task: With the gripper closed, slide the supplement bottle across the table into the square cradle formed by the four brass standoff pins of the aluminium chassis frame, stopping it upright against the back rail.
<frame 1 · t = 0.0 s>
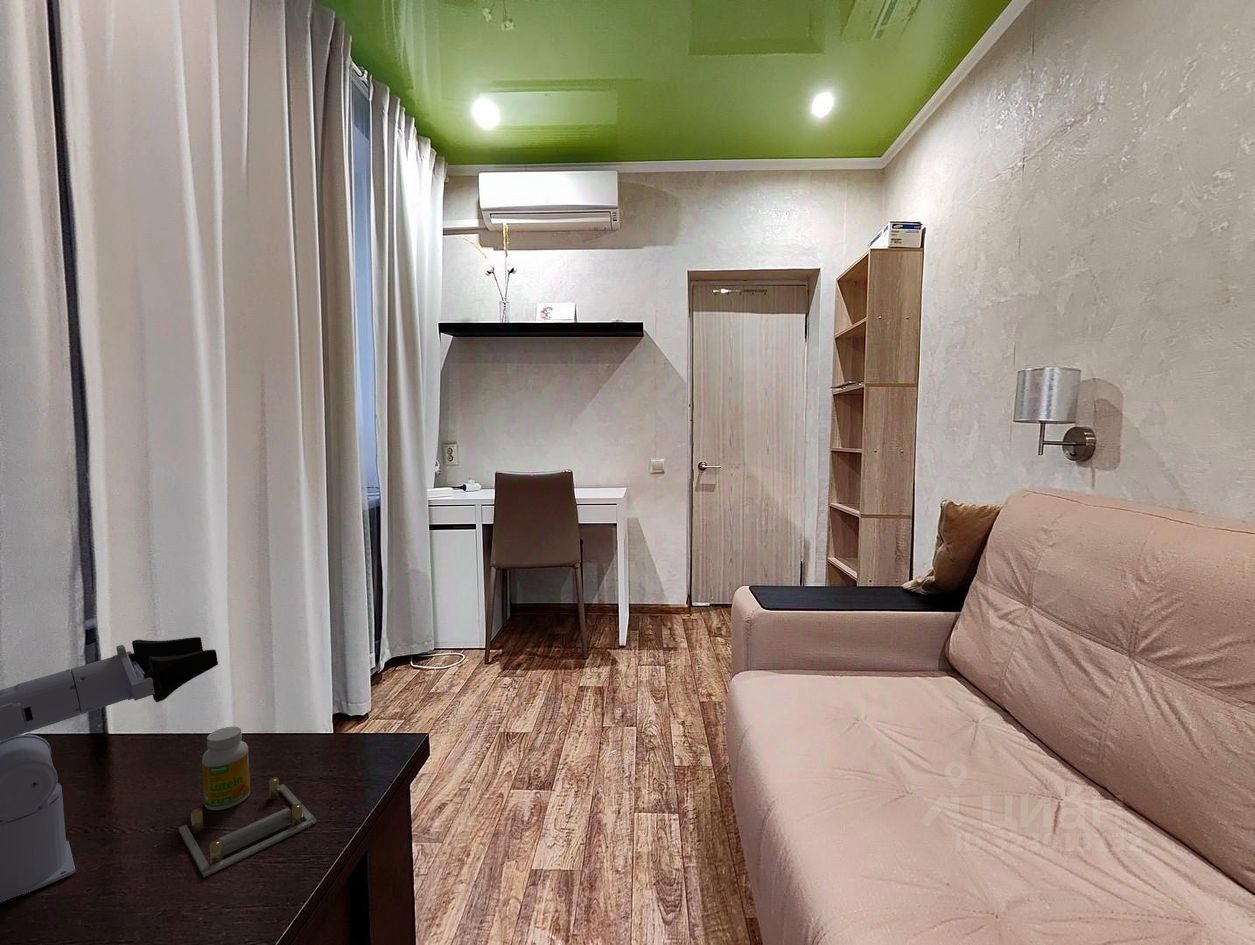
hand: (208, 650, 81), 22 cm above the table, tool horizontal, fingers open, 7 cm apart
supplement bottle: (228, 800, 82), on the table
chassis: (248, 826, 76), on the table
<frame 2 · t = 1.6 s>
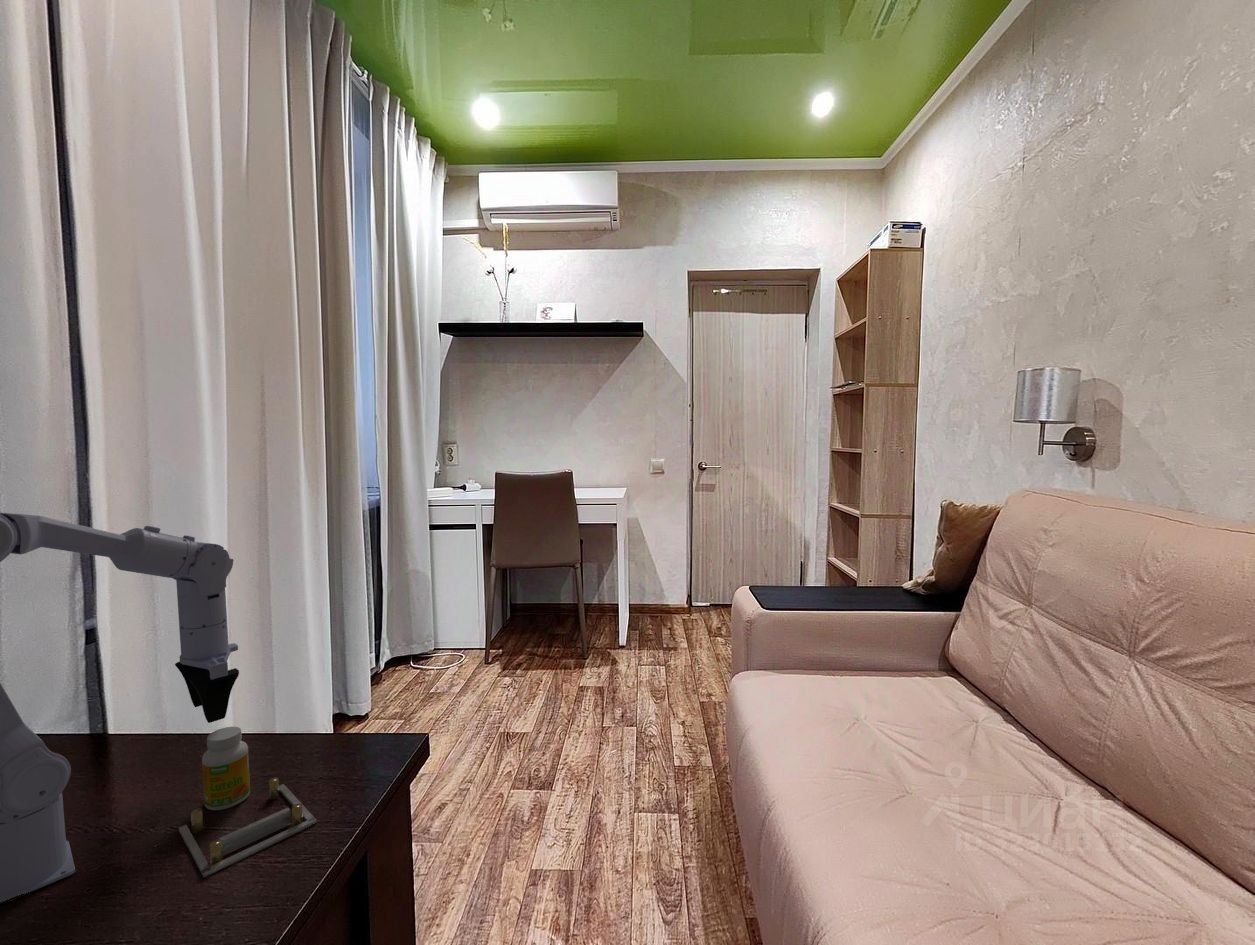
hand: (209, 711, 86), 10 cm above the table, tool pointing down, fingers open, 7 cm apart
nothing on the table moved.
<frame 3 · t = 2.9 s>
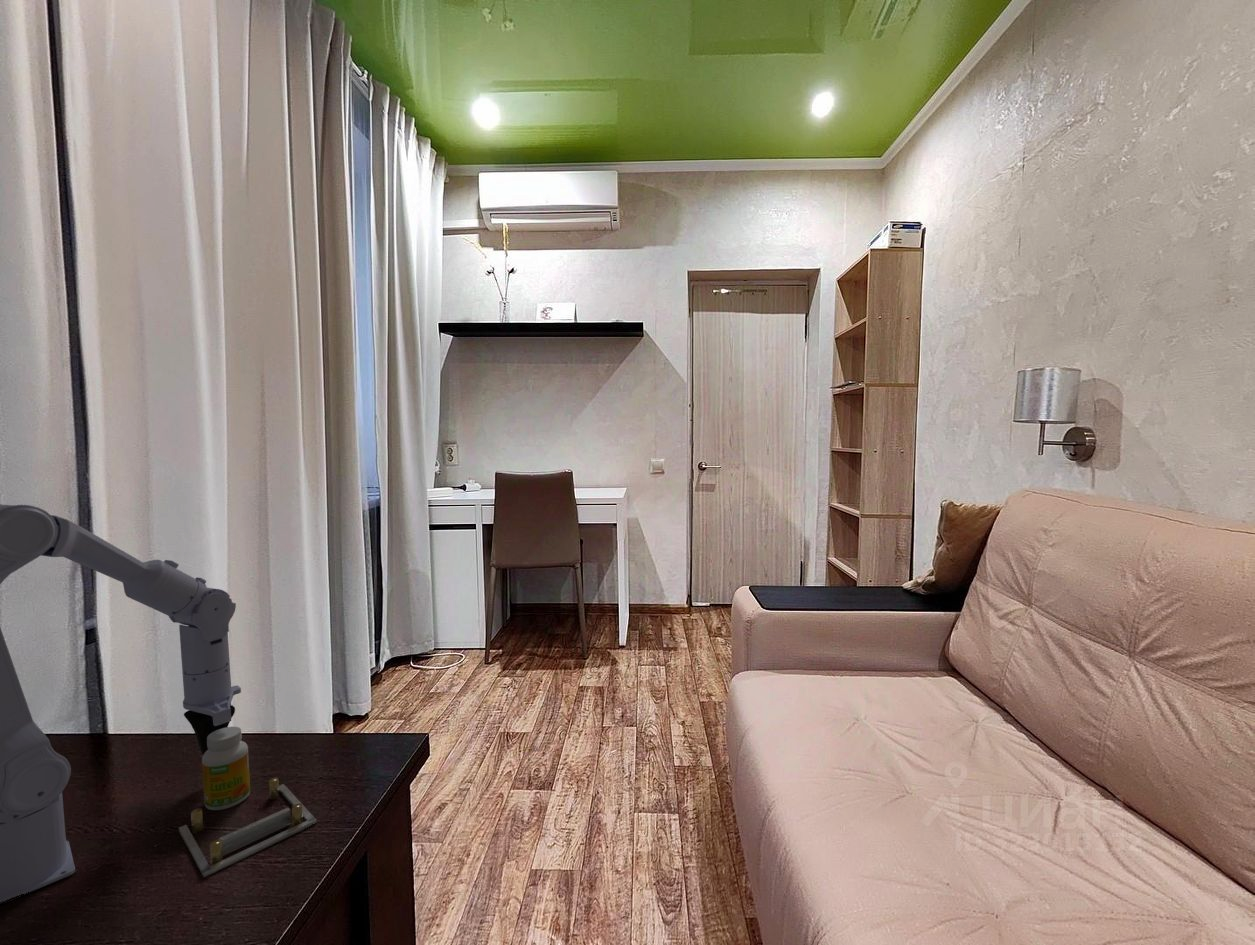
hand: (212, 755, 87), 4 cm above the table, tool pointing down, fingers closed
nothing on the table moved.
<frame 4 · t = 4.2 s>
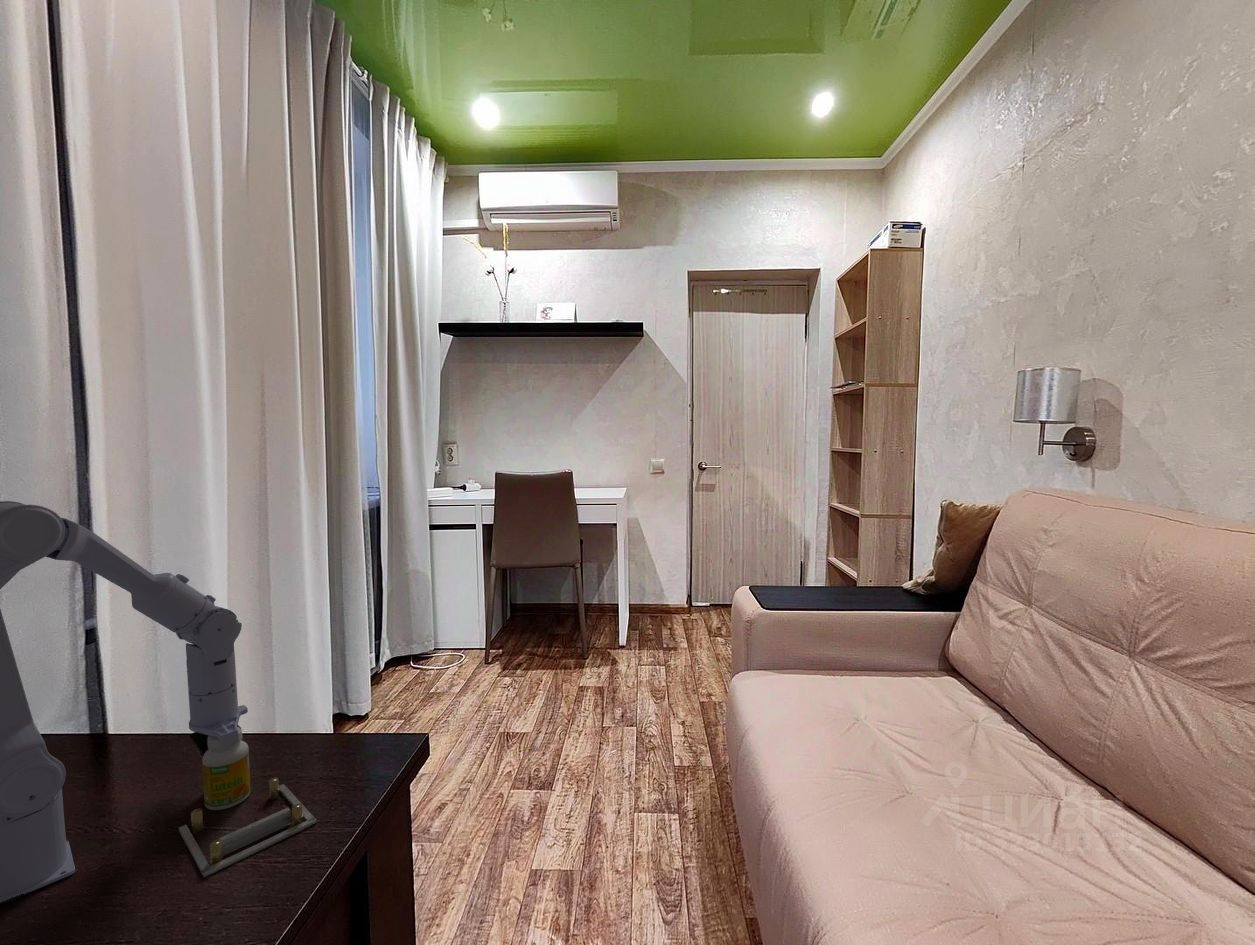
hand: (218, 776, 85), 1 cm above the table, tool pointing down, fingers closed
supplement bottle: (228, 800, 82), on the table, touching gripper
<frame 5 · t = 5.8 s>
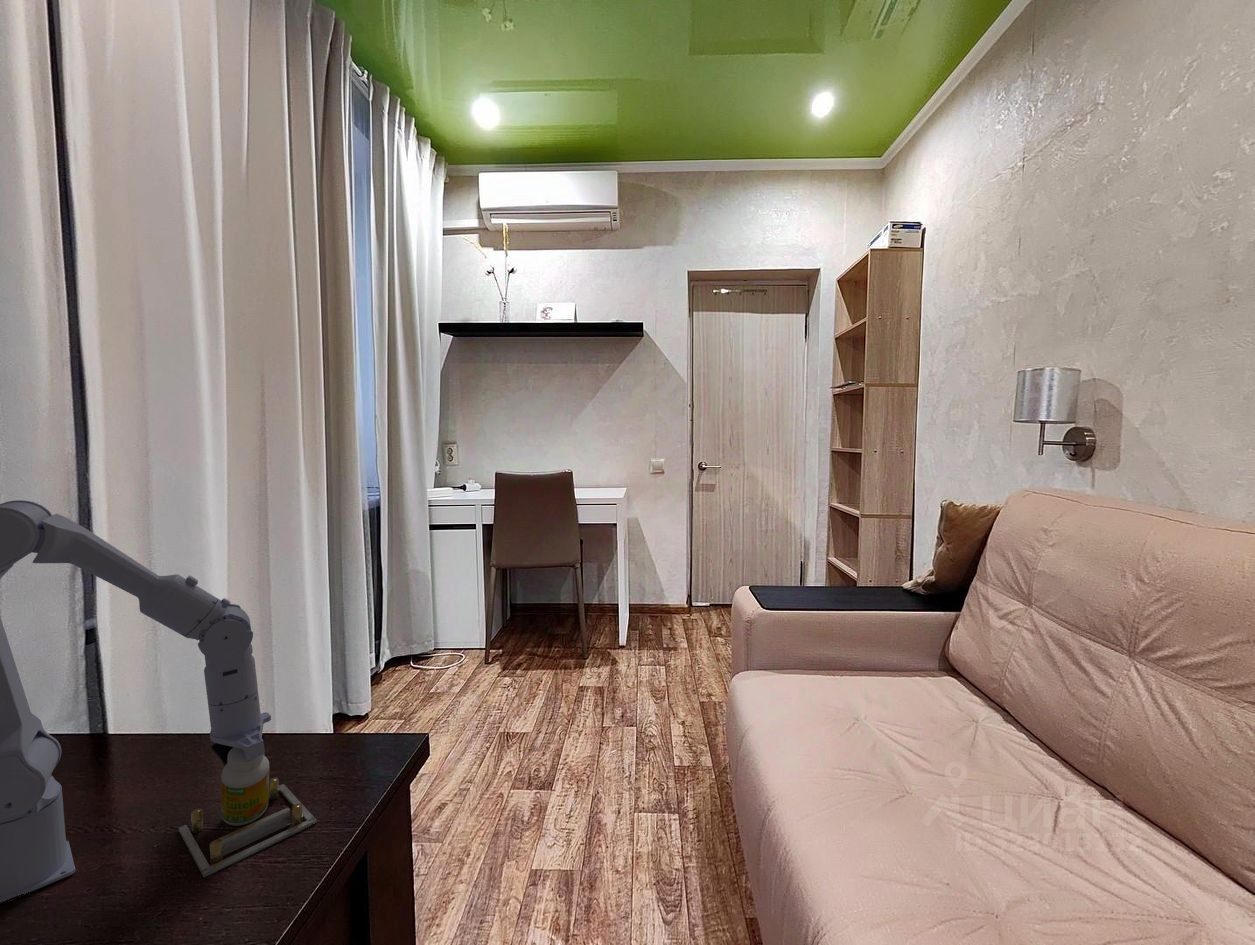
hand: (244, 788, 81), 2 cm above the table, tool pointing down, fingers closed, pressing on supplement bottle
supplement bottle: (245, 811, 79), on the table, touching gripper
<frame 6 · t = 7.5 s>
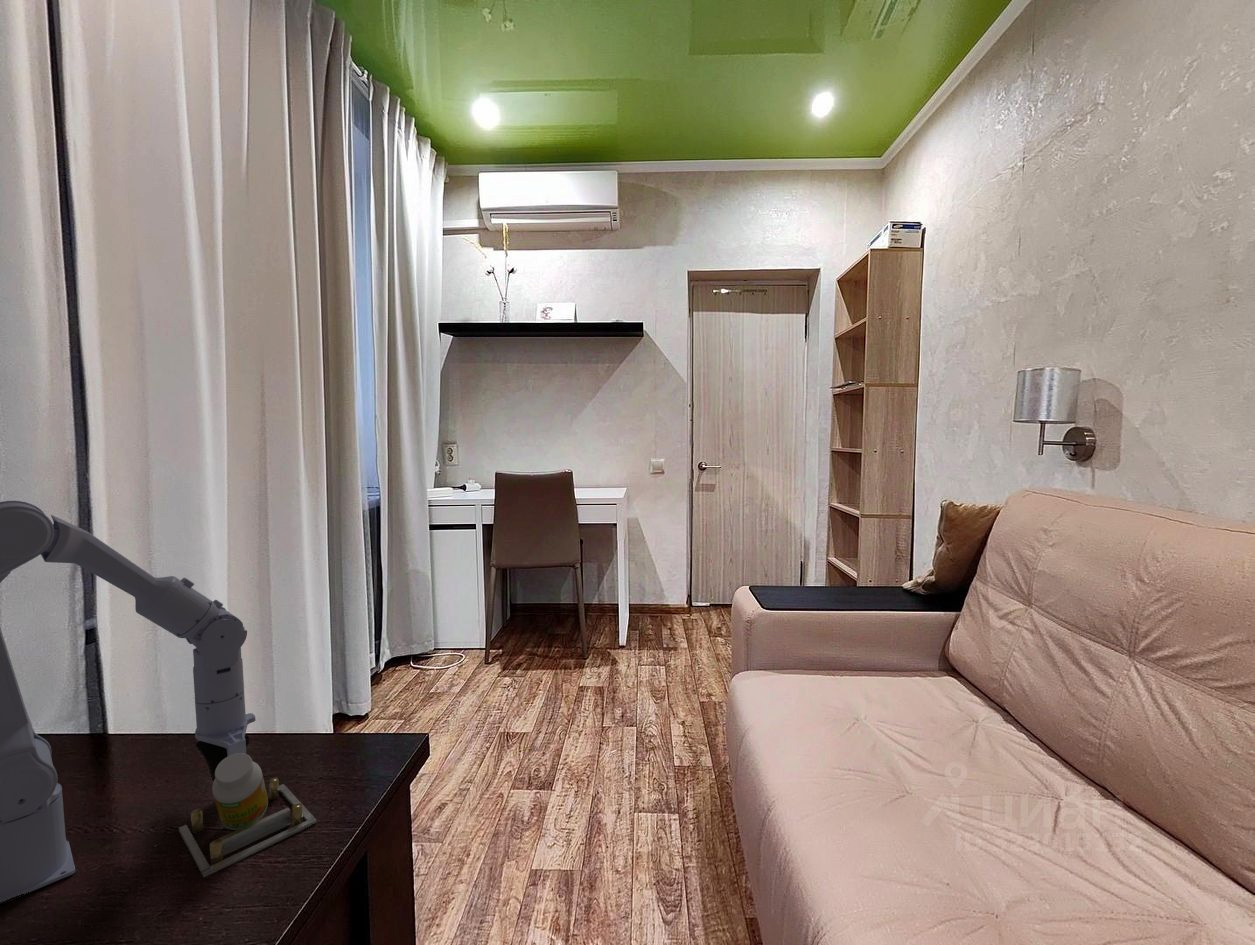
hand: (225, 787, 83), 1 cm above the table, tool pointing down, fingers closed
supplement bottle: (245, 811, 78), point 1 cm above the table
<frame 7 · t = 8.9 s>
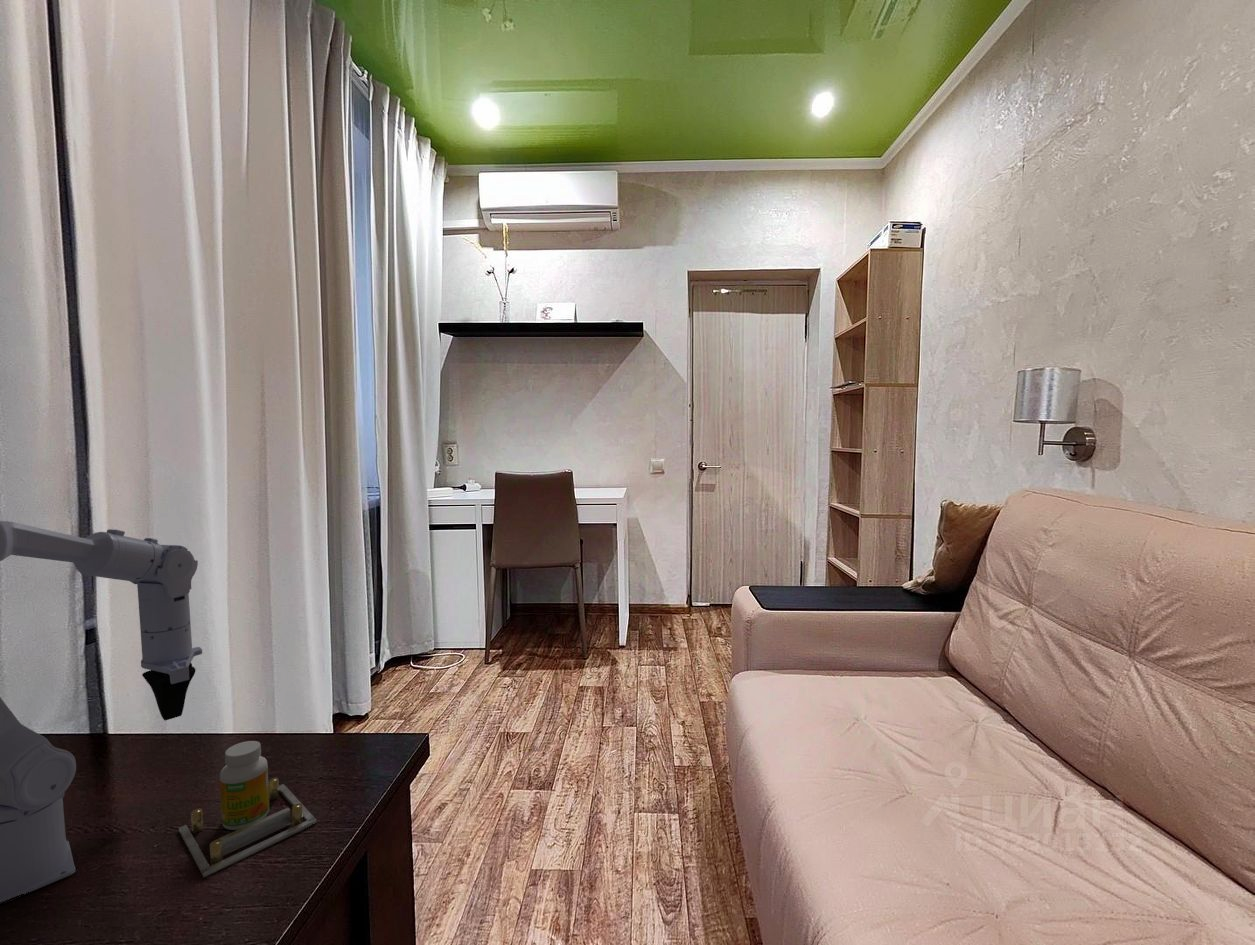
hand: (172, 716, 85), 10 cm above the table, tool pointing down, fingers closed
supplement bottle: (246, 819, 78), on the table
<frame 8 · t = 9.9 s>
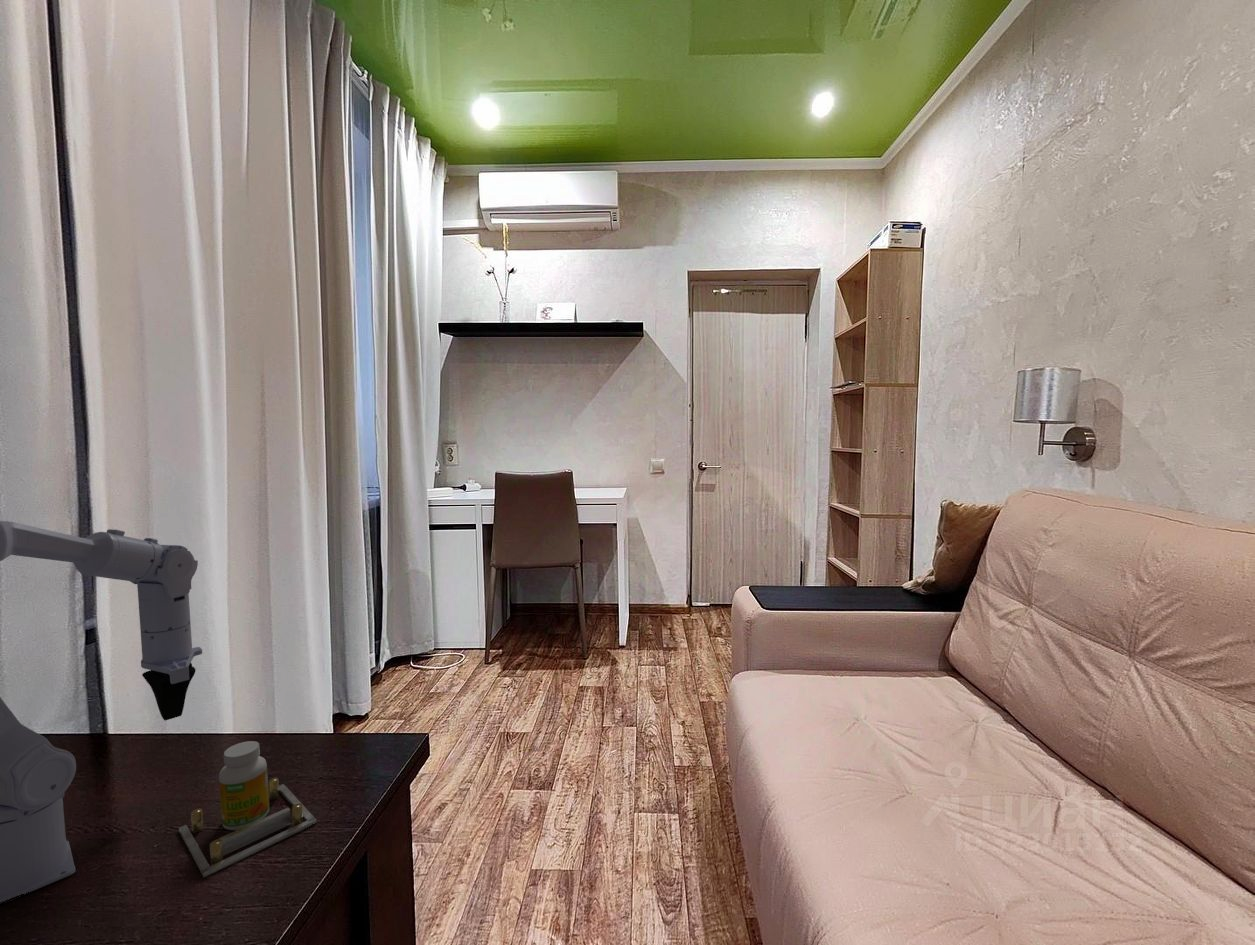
hand: (172, 716, 85), 10 cm above the table, tool pointing down, fingers closed
nothing on the table moved.
at the end: supplement bottle 2.3 cm off-centre on the chassis, point 0.0 cm above the chassis's base; supplement bottle tilted 0°; the gripper is holding nothing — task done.
